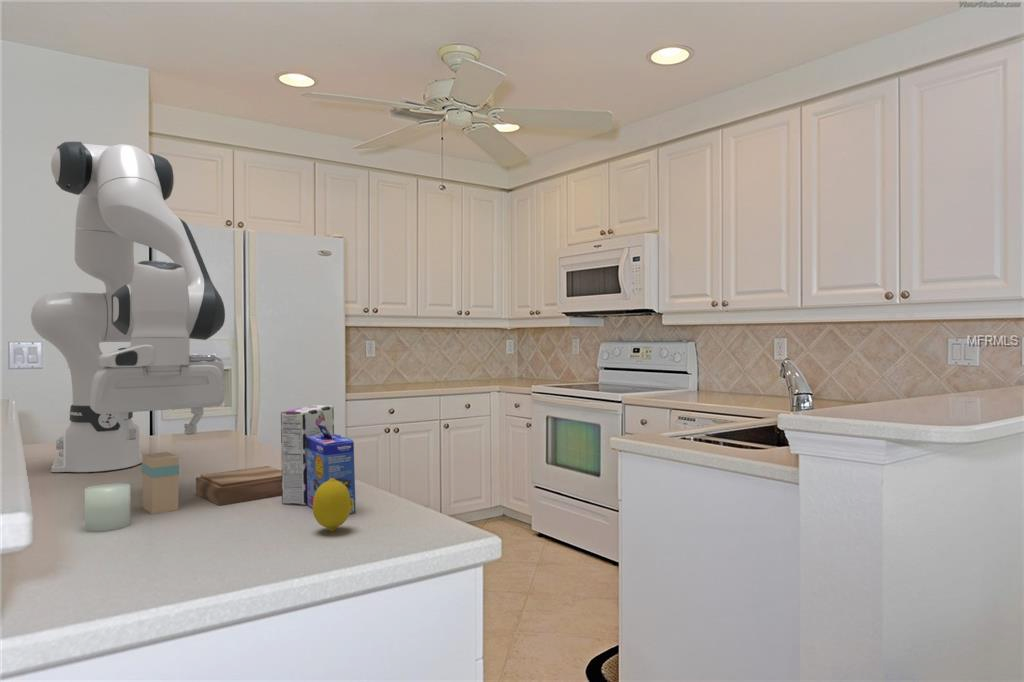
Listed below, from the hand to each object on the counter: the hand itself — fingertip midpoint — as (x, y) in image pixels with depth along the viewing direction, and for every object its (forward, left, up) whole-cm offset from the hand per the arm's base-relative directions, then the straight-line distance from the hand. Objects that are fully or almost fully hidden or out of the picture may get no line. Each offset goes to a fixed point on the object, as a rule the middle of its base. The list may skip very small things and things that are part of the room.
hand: (161, 436), depth 112 cm
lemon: (+32, +15, -12) cm, 37 cm away
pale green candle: (+6, -9, -12) cm, 16 cm away
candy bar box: (+10, +22, -13) cm, 27 cm away
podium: (-1, +15, -12) cm, 19 cm away
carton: (0, 0, -12) cm, 12 cm away
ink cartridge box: (+20, +21, -13) cm, 31 cm away
